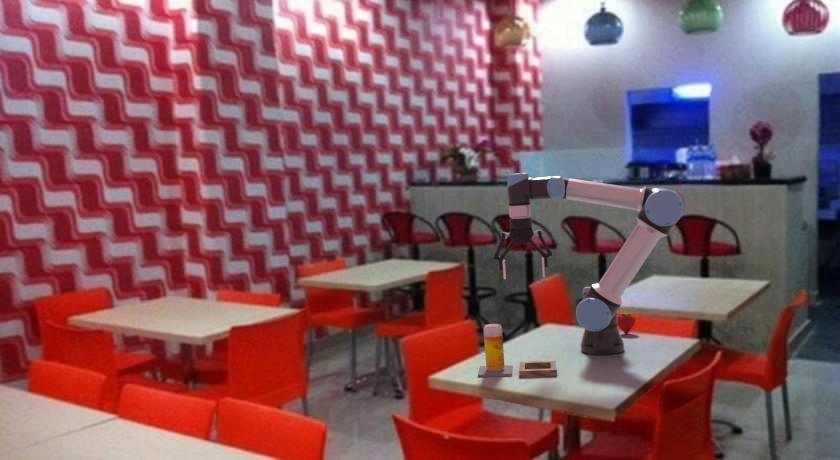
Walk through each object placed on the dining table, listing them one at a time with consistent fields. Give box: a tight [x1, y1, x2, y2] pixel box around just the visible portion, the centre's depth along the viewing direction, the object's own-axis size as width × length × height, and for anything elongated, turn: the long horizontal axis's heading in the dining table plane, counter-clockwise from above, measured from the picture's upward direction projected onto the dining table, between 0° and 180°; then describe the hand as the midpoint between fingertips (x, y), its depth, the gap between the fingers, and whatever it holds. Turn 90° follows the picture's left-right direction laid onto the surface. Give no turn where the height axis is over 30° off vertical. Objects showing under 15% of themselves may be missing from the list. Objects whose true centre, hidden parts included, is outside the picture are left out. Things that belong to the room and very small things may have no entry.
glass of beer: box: [483, 323, 505, 372], centre depth 257 cm, size 6×6×15 cm
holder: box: [518, 360, 558, 378], centre depth 254 cm, size 12×12×2 cm
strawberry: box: [617, 308, 636, 335], centre depth 301 cm, size 6×8×10 cm
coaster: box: [477, 364, 513, 378], centre depth 257 cm, size 11×11×1 cm
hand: (524, 277), depth 271 cm, fingers open, 13 cm apart
